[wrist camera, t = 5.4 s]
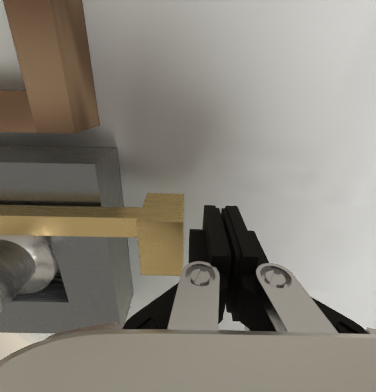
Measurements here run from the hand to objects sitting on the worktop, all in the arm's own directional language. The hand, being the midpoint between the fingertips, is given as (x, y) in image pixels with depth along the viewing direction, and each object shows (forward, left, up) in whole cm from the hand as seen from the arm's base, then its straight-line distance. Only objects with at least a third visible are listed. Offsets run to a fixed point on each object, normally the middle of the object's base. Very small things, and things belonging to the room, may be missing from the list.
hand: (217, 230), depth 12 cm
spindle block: (-4, +14, -6) cm, 15 cm away
